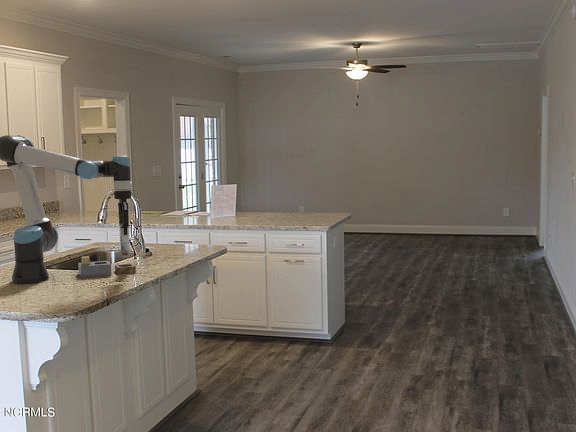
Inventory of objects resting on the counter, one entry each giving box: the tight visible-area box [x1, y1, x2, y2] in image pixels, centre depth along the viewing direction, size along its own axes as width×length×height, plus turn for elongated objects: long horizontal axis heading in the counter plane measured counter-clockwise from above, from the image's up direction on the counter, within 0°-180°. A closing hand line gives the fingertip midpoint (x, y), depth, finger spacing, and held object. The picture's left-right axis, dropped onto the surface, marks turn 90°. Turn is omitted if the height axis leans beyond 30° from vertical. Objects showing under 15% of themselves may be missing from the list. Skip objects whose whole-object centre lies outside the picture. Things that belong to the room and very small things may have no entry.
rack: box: [113, 263, 138, 276], centre depth 307 cm, size 9×9×4 cm
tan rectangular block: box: [81, 255, 91, 265], centre depth 300 cm, size 3×3×7 cm
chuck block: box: [77, 260, 113, 279], centre depth 301 cm, size 13×10×6 cm
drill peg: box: [118, 224, 131, 257], centre depth 305 cm, size 4×4×14 cm
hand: (124, 241), depth 305 cm, fingers closed on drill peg, 4 cm apart
